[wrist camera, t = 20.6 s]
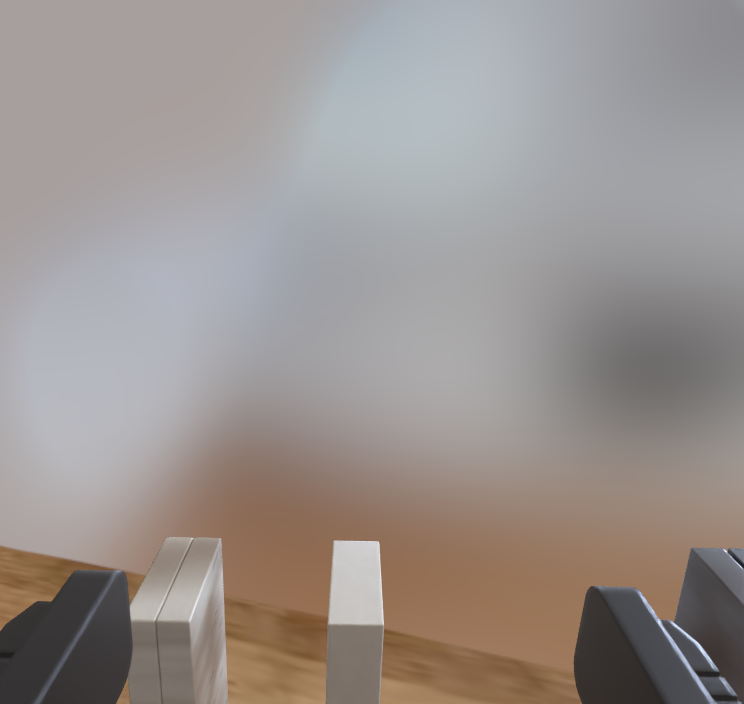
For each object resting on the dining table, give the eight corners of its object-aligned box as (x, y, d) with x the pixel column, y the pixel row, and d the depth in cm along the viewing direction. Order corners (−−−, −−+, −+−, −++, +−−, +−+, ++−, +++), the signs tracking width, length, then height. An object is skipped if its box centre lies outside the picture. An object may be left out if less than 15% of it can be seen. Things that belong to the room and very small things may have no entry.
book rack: (795, 890, 24) (881, 653, 20) (126, 890, 23) (96, 642, 19) (699, 733, 30) (751, 535, 27) (178, 729, 30) (163, 523, 26)
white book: (371, 846, 24) (383, 625, 21) (322, 845, 24) (327, 624, 21) (369, 734, 29) (379, 541, 25) (329, 733, 29) (333, 540, 25)
